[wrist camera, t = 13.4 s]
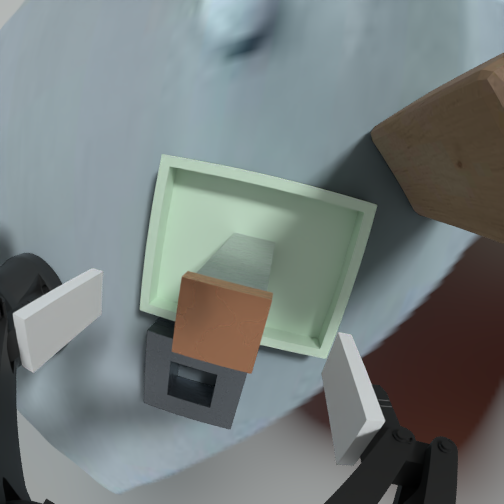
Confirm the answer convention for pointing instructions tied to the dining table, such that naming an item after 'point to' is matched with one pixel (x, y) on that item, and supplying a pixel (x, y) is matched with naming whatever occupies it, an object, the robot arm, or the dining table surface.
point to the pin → (226, 305)
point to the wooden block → (453, 151)
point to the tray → (264, 227)
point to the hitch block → (188, 381)
